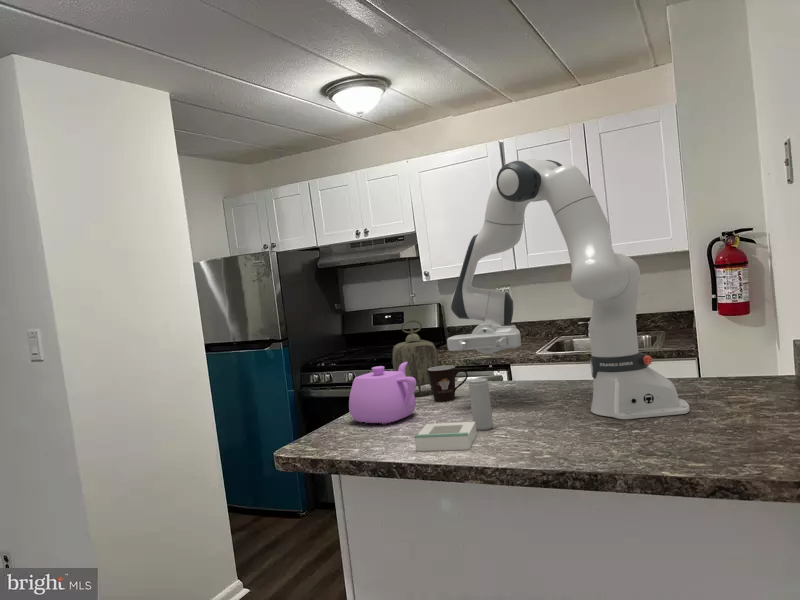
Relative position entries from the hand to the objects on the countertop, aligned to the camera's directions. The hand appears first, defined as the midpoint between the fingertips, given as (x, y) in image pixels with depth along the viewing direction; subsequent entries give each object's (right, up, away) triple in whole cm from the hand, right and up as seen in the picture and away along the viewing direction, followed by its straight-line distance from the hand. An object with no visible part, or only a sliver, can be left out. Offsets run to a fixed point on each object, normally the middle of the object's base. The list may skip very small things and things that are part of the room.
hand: (480, 344), depth 154 cm
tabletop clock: (-15, -20, +39) cm, 47 cm away
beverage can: (-1, -20, -11) cm, 23 cm away
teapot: (-26, -22, +11) cm, 36 cm away
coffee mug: (-6, -19, +27) cm, 33 cm away
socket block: (-10, -21, -20) cm, 31 cm away
